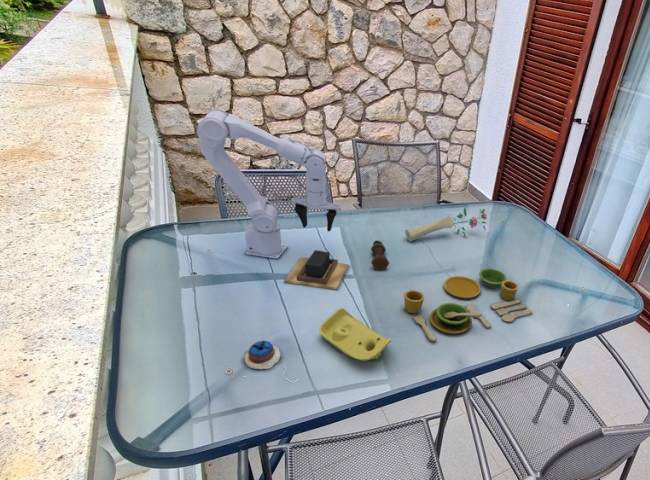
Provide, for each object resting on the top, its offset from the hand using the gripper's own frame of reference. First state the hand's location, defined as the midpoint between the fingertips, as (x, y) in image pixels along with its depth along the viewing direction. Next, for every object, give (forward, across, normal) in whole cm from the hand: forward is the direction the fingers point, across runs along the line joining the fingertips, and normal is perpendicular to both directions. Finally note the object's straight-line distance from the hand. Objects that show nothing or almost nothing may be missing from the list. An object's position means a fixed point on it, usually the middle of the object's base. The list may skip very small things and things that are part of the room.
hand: (317, 228), depth 139 cm
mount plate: (+9, -4, +13) cm, 17 cm away
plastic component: (+10, -23, +44) cm, 51 cm away
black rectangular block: (+8, -4, +13) cm, 16 cm away
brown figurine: (+10, -20, -2) cm, 22 cm away
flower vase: (+10, -42, -28) cm, 51 cm away
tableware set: (+10, -51, +18) cm, 55 cm away
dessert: (+10, -3, +52) cm, 53 cm away
